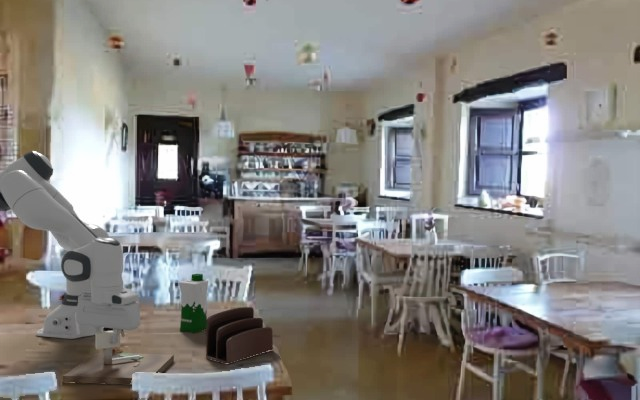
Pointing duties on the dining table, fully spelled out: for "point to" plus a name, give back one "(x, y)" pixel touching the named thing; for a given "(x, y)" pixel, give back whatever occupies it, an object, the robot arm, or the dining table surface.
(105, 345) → the grey piece
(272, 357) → the dining table surface
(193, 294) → the milk carton
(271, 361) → the dining table surface
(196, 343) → the dining table surface
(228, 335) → the letter holder
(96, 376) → the wooden cutting board
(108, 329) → the grandmother figurine
